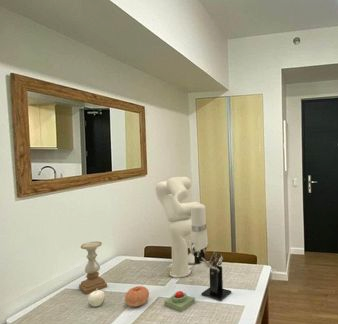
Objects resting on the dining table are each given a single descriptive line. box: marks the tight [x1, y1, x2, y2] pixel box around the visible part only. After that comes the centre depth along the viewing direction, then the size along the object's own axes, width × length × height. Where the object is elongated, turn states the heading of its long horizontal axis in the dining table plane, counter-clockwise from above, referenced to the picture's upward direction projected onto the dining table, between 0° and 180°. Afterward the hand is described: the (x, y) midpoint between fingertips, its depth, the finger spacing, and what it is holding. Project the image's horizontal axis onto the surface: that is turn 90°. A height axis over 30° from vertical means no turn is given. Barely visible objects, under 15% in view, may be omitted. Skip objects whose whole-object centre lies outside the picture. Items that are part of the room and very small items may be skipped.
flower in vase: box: [188, 236, 195, 264], centre depth 183 cm, size 13×11×25 cm
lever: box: [199, 254, 220, 274], centre depth 142 cm, size 15×3×3 cm, turn 59°
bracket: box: [201, 265, 232, 302], centre depth 140 cm, size 12×9×14 cm
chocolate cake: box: [208, 250, 224, 267], centre depth 180 cm, size 10×7×12 cm
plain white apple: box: [87, 288, 106, 307], centre depth 133 cm, size 7×7×8 cm
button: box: [174, 290, 184, 298], centre depth 131 cm, size 4×4×2 cm
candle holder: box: [78, 240, 108, 295], centre depth 150 cm, size 11×11×24 cm
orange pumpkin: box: [124, 285, 150, 308], centre depth 132 cm, size 11×11×8 cm
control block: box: [163, 292, 196, 312], centre depth 132 cm, size 11×9×4 cm
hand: (199, 261), depth 145 cm, fingers closed on lever, 3 cm apart
